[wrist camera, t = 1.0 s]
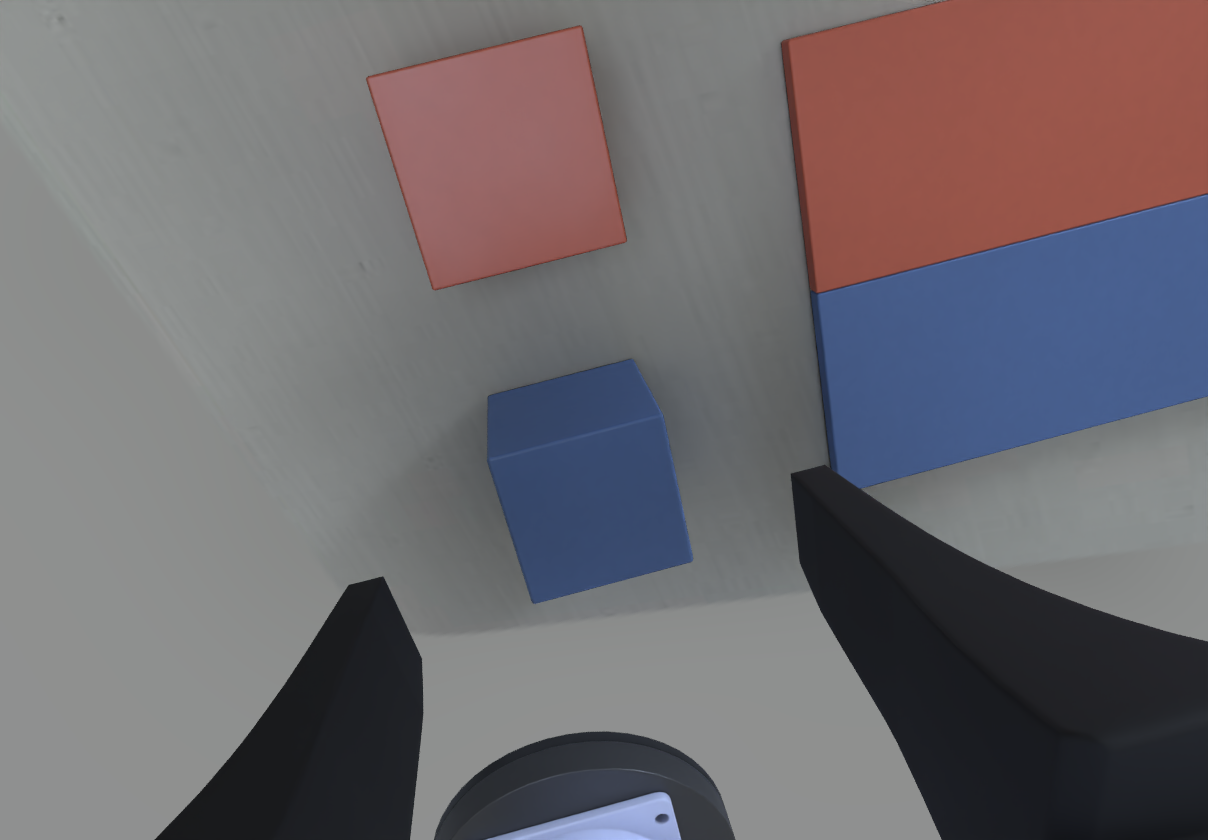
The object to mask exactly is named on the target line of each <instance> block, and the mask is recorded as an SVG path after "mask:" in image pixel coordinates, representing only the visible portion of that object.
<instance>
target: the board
mask: <svg viewBox="0 0 1208 840" xmlns="http://www.w3.org/2000/svg"><path fill="white" fill-rule="evenodd" d="M781 45H782V53H783V62H784V71H785V79H786V88H787V96H788V105H789V113H790V122H791V130H792V139H793V147H794V156H795V164H796V173H797V181H798V190H799V198H800V207H801V215H802V224H803V232H804V241H805V250H806V258H807V267H808V275H809V284H810V289H811V300H812V309H813V317H814V326H815V334H816V343H817V351H818V360H819V368H820V377H821V385H822V394H823V402H824V411H825V420H826V428H827V437H828V445H829V454H830V462H831V469H832V470H834V471H835V472H837V473H838V474H839V475H841V476H842V477H844V478H845V479H847V480H848V481H849V482H851V483H852V484H854V485H855V486H857V487H858V488H859V489H861V488H865V487H868V486H872V485H876V484H880V483H883V482H887V481H891V480H895V479H898V478H902V477H906V476H910V475H913V474H917V473H921V472H925V471H928V470H932V469H936V468H940V467H944V466H947V465H951V464H955V463H959V462H962V461H966V460H970V459H974V458H977V457H981V456H985V455H989V454H992V453H996V452H1000V451H1004V450H1007V449H1011V448H1015V447H1019V446H1023V445H1026V444H1030V443H1034V442H1038V441H1041V440H1045V439H1049V438H1053V437H1056V436H1060V435H1064V434H1068V433H1071V432H1075V431H1079V430H1083V429H1086V428H1090V427H1094V426H1098V425H1102V424H1105V423H1109V422H1113V421H1117V420H1120V419H1124V418H1128V417H1132V416H1135V415H1139V414H1143V413H1147V412H1150V411H1154V410H1158V409H1162V408H1165V407H1169V406H1173V405H1177V404H1181V403H1184V402H1188V401H1192V400H1196V399H1199V398H1203V397H1207V396H1208V0H947V1H943V2H939V3H935V4H931V5H926V6H922V7H918V8H914V9H910V10H906V11H902V12H898V13H894V14H890V15H885V16H881V17H877V18H873V19H869V20H865V21H861V22H857V23H853V24H849V25H844V26H840V27H836V28H832V29H828V30H824V31H820V32H816V33H812V34H808V35H803V36H799V37H795V38H791V39H787V40H783V41H782V43H781Z"/></svg>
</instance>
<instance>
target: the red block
mask: <svg viewBox="0 0 1208 840" xmlns="http://www.w3.org/2000/svg"><path fill="white" fill-rule="evenodd" d="M366 81H367V84H368V87H369V90H370V93H371V97H372V100H373V103H374V106H375V109H376V112H377V116H378V119H379V122H380V125H381V128H382V131H383V135H384V138H385V141H386V144H387V147H388V150H389V153H390V157H391V160H392V163H393V166H394V169H395V172H396V176H397V179H398V182H399V185H400V188H401V191H402V194H403V198H404V201H405V204H406V207H407V210H408V213H409V217H410V220H411V223H412V226H413V229H414V232H415V236H416V239H417V242H418V245H419V248H420V251H421V254H422V258H423V261H424V264H425V267H426V270H427V273H428V277H429V280H430V283H431V286H432V289H433V290H439V289H443V288H447V287H451V286H455V285H459V284H463V283H467V282H471V281H475V280H479V279H483V278H487V277H491V276H495V275H499V274H503V273H507V272H511V271H515V270H519V269H523V268H527V267H530V266H534V265H538V264H542V263H546V262H550V261H554V260H558V259H562V258H566V257H570V256H574V255H578V254H582V253H586V252H590V251H594V250H598V249H602V248H606V247H610V246H614V245H618V244H622V243H625V242H627V238H626V233H625V228H624V223H623V218H622V214H621V209H620V204H619V199H618V195H617V190H616V185H615V180H614V175H613V171H612V166H611V161H610V156H609V151H608V147H607V142H606V137H605V132H604V127H603V123H602V118H601V113H600V108H599V103H598V99H597V94H596V89H595V84H594V79H593V75H592V70H591V65H590V60H589V56H588V51H587V46H586V41H585V36H584V32H583V27H582V26H580V25H579V26H575V27H571V28H567V29H563V30H558V31H554V32H550V33H546V34H542V35H538V36H533V37H529V38H525V39H521V40H517V41H513V42H509V43H504V44H500V45H496V46H492V47H488V48H484V49H480V50H475V51H471V52H467V53H463V54H459V55H455V56H450V57H446V58H442V59H438V60H434V61H430V62H426V63H421V64H417V65H413V66H409V67H405V68H401V69H397V70H392V71H388V72H384V73H380V74H376V75H372V76H368V77H367V78H366Z"/></svg>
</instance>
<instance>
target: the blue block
mask: <svg viewBox="0 0 1208 840" xmlns="http://www.w3.org/2000/svg"><path fill="white" fill-rule="evenodd" d="M487 462H488V465H489V468H490V472H491V475H492V478H493V481H494V484H495V487H496V491H497V494H498V497H499V500H500V503H501V506H502V509H503V513H504V516H505V519H506V522H507V525H508V528H509V532H510V535H511V538H512V541H513V544H514V547H515V551H516V554H517V557H518V560H519V563H520V566H521V569H522V573H523V576H524V579H525V582H526V585H527V588H528V592H529V595H530V598H531V601H532V602H533V603H534V604H536V603H540V602H544V601H547V600H551V599H555V598H559V597H562V596H566V595H570V594H574V593H577V592H581V591H585V590H589V589H592V588H596V587H600V586H604V585H607V584H611V583H615V582H619V581H622V580H626V579H630V578H634V577H637V576H641V575H645V574H648V573H652V572H656V571H660V570H663V569H667V568H671V567H675V566H678V565H682V564H686V563H690V562H692V561H693V555H692V550H691V545H690V540H689V536H688V531H687V526H686V521H685V516H684V512H683V507H682V502H681V497H680V492H679V488H678V483H677V478H676V473H675V469H674V464H673V459H672V454H671V449H670V445H669V440H668V435H667V430H666V425H665V421H664V416H663V414H662V412H661V410H660V408H659V406H658V404H657V403H656V401H655V399H654V397H653V395H652V393H651V391H650V389H649V388H648V386H647V384H646V382H645V380H644V378H643V376H642V375H641V373H640V371H639V369H638V367H637V365H636V363H635V362H634V360H633V359H630V360H626V361H622V362H618V363H614V364H610V365H606V366H602V367H599V368H595V369H591V370H587V371H583V372H579V373H575V374H571V375H567V376H563V377H560V378H556V379H552V380H548V381H544V382H540V383H536V384H532V385H528V386H525V387H521V388H517V389H513V390H509V391H505V392H501V393H497V394H493V395H490V396H488V422H487Z"/></svg>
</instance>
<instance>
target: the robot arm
mask: <svg viewBox="0 0 1208 840" xmlns="http://www.w3.org/2000/svg"><path fill="white" fill-rule="evenodd" d="M791 481H792V491H793V501H794V510H795V520H796V530H797V540H798V550H799V559H800V564H801V567H802V569H803V571H804V574H805V576H806V578H807V581H808V583H809V585H810V588H811V590H812V592H813V595H814V597H815V599H816V601H817V603H818V606H819V608H820V610H821V612H822V614H823V616H824V618H825V619H826V621H827V623H828V625H829V626H830V628H831V630H832V631H833V633H834V635H835V636H836V638H837V640H838V642H839V643H840V645H841V647H842V648H843V650H844V652H845V653H846V655H847V657H848V659H849V660H850V662H851V663H852V665H853V667H854V669H855V670H856V672H857V673H858V675H859V677H860V679H861V680H862V682H863V684H864V685H865V687H866V689H867V690H868V692H869V694H870V695H871V697H872V699H873V700H874V702H875V704H876V706H877V707H878V709H879V711H880V712H881V714H882V716H883V717H884V719H885V721H886V722H887V725H888V726H889V728H890V730H891V732H892V734H893V736H894V738H895V739H896V741H897V743H898V745H899V747H900V749H901V752H902V754H903V756H904V758H905V760H906V762H907V764H908V767H909V769H910V771H911V773H912V775H913V777H914V779H915V782H916V784H917V786H918V788H919V790H920V792H921V794H922V796H923V799H924V801H925V803H926V805H927V808H928V810H929V812H930V814H931V816H932V819H933V821H934V823H935V826H936V828H937V830H938V832H939V834H940V837H941V839H942V840H1208V642H1207V641H1203V640H1199V639H1195V638H1191V637H1186V636H1182V635H1178V634H1174V633H1170V632H1166V631H1163V630H1160V629H1156V628H1153V627H1150V626H1147V625H1143V624H1140V623H1136V622H1133V621H1129V620H1126V619H1123V618H1120V617H1117V616H1114V615H1111V614H1108V613H1105V612H1102V611H1099V610H1096V609H1093V608H1090V607H1087V606H1084V605H1082V604H1079V603H1076V602H1074V601H1071V600H1068V599H1066V598H1063V597H1060V596H1058V595H1055V594H1052V593H1050V592H1047V591H1045V590H1042V589H1040V588H1037V587H1035V586H1032V585H1030V584H1028V583H1025V582H1023V581H1020V580H1019V579H1016V578H1014V577H1012V576H1010V575H1008V574H1005V573H1003V572H1001V571H999V570H997V569H995V568H992V567H990V566H988V565H986V564H984V563H982V562H980V561H978V560H976V559H974V558H972V557H970V556H968V555H966V554H964V553H962V552H961V551H959V550H957V549H955V548H953V547H952V546H950V545H948V544H946V543H944V542H942V541H941V540H939V539H937V538H935V537H934V536H932V535H930V534H929V533H927V532H925V531H924V530H922V529H921V528H919V527H917V526H916V525H914V524H913V523H911V522H909V521H908V520H906V519H905V518H903V517H901V516H900V515H898V514H897V513H895V512H893V511H892V510H890V509H889V508H887V507H886V506H884V505H883V504H881V503H880V502H878V501H877V500H875V499H874V498H873V497H871V496H870V495H868V494H867V493H865V492H864V491H862V490H861V489H859V488H858V487H857V486H855V485H854V484H852V483H851V482H849V481H848V480H847V479H845V478H844V477H842V476H841V475H839V474H838V473H837V472H835V471H834V470H832V469H831V468H829V467H827V466H826V465H823V466H819V467H815V468H811V469H807V470H803V471H799V472H795V473H791ZM422 721H423V678H422V658H421V656H420V654H419V652H418V649H417V647H416V645H415V643H414V641H413V639H412V636H411V634H410V632H409V630H408V628H407V626H406V624H405V622H404V619H403V617H402V615H401V613H400V611H399V609H398V607H397V604H396V602H395V600H394V598H393V596H392V594H391V592H390V590H389V587H388V585H387V583H386V581H385V579H384V577H379V578H375V579H371V580H367V581H363V582H359V583H355V584H351V585H349V586H348V587H347V589H346V590H345V592H344V593H343V595H342V596H341V598H340V599H339V601H338V602H337V604H336V606H335V607H334V609H333V610H332V612H331V613H330V615H329V617H328V618H327V620H326V621H325V623H324V625H323V626H322V628H321V629H320V631H319V632H318V634H317V636H316V637H315V639H314V640H313V642H312V644H311V645H310V647H309V648H308V650H307V651H306V653H305V655H304V656H303V657H302V659H301V661H300V662H299V664H298V665H297V667H296V668H295V670H294V671H293V673H292V674H291V676H290V677H289V679H288V680H287V682H286V683H285V685H284V686H283V688H282V689H281V690H280V692H279V693H278V694H277V696H276V697H275V699H274V700H273V701H272V703H271V704H270V705H269V707H268V708H267V710H266V711H265V712H264V714H263V715H262V717H261V718H260V719H259V721H258V722H257V723H256V725H255V726H254V728H253V729H252V730H251V732H250V733H249V734H248V736H247V737H246V738H245V739H244V741H243V742H242V743H241V744H240V746H239V747H238V748H237V749H236V751H235V752H234V753H233V755H232V756H231V757H230V758H229V759H228V760H227V762H226V763H225V764H224V765H223V766H222V767H221V769H220V770H219V771H218V772H217V773H216V775H215V776H214V777H213V778H212V779H211V781H210V782H209V783H208V784H207V785H206V786H205V787H204V788H203V790H202V791H201V792H200V793H199V794H198V795H197V796H196V797H195V798H194V799H193V800H192V801H191V803H190V804H189V805H188V806H187V807H186V808H185V809H184V810H183V811H182V812H181V813H180V814H179V815H178V816H177V817H176V818H175V819H174V820H173V821H172V822H171V823H170V824H169V825H168V826H167V827H166V828H165V830H164V831H163V832H162V833H161V834H160V835H159V836H158V837H157V838H156V839H155V840H410V834H411V825H412V816H413V807H414V798H415V787H416V780H417V771H418V761H419V752H420V742H421V732H422ZM660 814H662V815H660ZM485 840H681V837H680V833H679V829H678V825H677V822H676V818H675V814H674V810H673V806H672V802H671V799H670V797H669V795H668V794H666V793H663V792H655V793H651V794H648V795H644V796H640V797H637V798H633V799H630V800H626V801H622V802H619V803H615V804H612V805H608V806H604V807H601V808H597V809H593V810H590V811H586V812H583V813H579V814H575V815H572V816H568V817H565V818H561V819H557V820H554V821H550V822H547V823H543V824H539V825H536V826H532V827H529V828H525V829H521V830H518V831H514V832H511V833H507V834H503V835H500V836H496V837H493V838H489V839H485Z"/></svg>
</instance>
